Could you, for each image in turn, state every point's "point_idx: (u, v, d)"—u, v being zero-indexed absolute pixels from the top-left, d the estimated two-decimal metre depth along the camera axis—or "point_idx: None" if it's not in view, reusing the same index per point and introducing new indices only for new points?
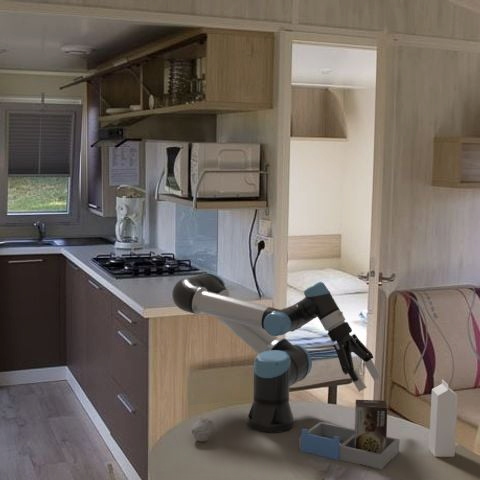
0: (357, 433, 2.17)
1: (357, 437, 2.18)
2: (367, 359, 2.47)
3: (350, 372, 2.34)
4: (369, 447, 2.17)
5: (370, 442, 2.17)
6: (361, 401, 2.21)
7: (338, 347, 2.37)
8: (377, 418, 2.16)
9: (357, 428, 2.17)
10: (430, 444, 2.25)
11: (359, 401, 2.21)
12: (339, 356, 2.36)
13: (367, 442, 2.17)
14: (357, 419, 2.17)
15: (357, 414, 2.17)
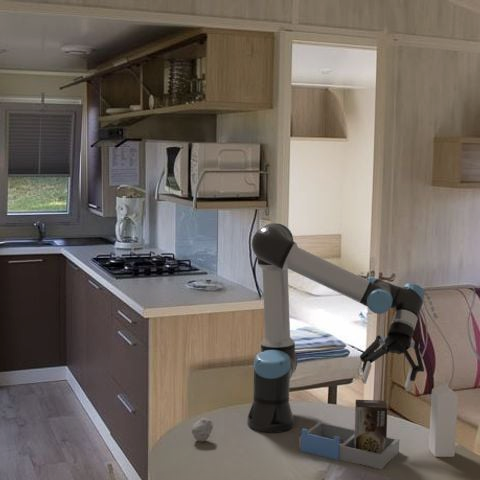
0: (357, 433, 2.17)
1: (357, 437, 2.18)
2: None
3: (417, 371, 2.27)
4: (369, 447, 2.17)
5: (370, 442, 2.17)
6: (361, 401, 2.21)
7: (419, 347, 2.32)
8: (377, 418, 2.16)
9: (357, 428, 2.17)
10: (430, 444, 2.25)
11: (359, 401, 2.21)
12: (419, 353, 2.30)
13: (367, 442, 2.17)
14: (357, 419, 2.17)
15: (357, 414, 2.17)
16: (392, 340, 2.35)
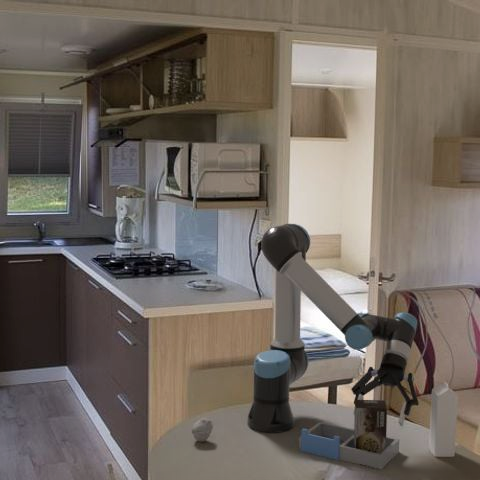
0: (357, 434, 2.17)
1: (357, 438, 2.17)
2: None
3: (411, 405, 2.19)
4: (369, 447, 2.17)
5: (369, 442, 2.17)
6: (360, 401, 2.20)
7: (412, 379, 2.25)
8: (376, 418, 2.16)
9: (357, 429, 2.17)
10: (430, 444, 2.25)
11: (359, 401, 2.20)
12: (413, 386, 2.22)
13: (367, 442, 2.17)
14: (357, 420, 2.16)
15: (357, 415, 2.16)
16: (385, 372, 2.27)
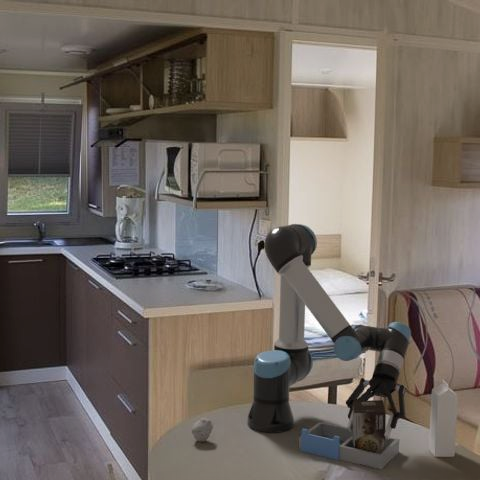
0: (356, 436, 2.15)
1: (356, 440, 2.16)
2: None
3: (397, 418, 2.17)
4: (368, 448, 2.16)
5: (368, 444, 2.16)
6: (358, 403, 2.17)
7: (403, 391, 2.22)
8: (375, 422, 2.13)
9: (356, 432, 2.15)
10: (430, 444, 2.25)
11: (357, 403, 2.17)
12: (403, 398, 2.20)
13: (366, 444, 2.16)
14: (355, 424, 2.14)
15: (355, 419, 2.14)
16: (377, 382, 2.25)
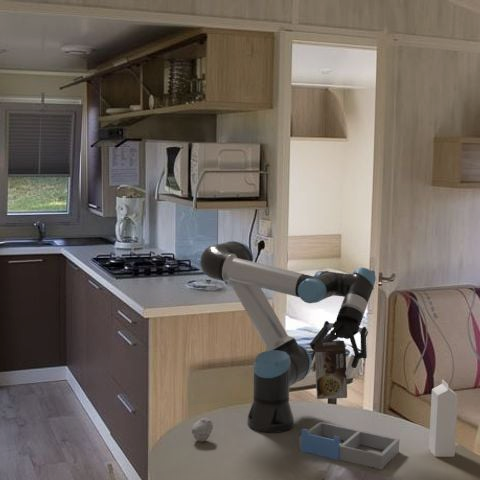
0: (318, 376, 2.20)
1: (318, 379, 2.20)
2: None
3: (359, 358, 2.22)
4: (330, 387, 2.21)
5: (330, 383, 2.21)
6: (320, 344, 2.21)
7: (366, 333, 2.27)
8: (336, 360, 2.18)
9: (317, 371, 2.19)
10: (430, 444, 2.25)
11: (318, 344, 2.21)
12: (364, 339, 2.24)
13: (328, 383, 2.21)
14: (317, 363, 2.19)
15: (316, 358, 2.18)
16: (340, 325, 2.29)
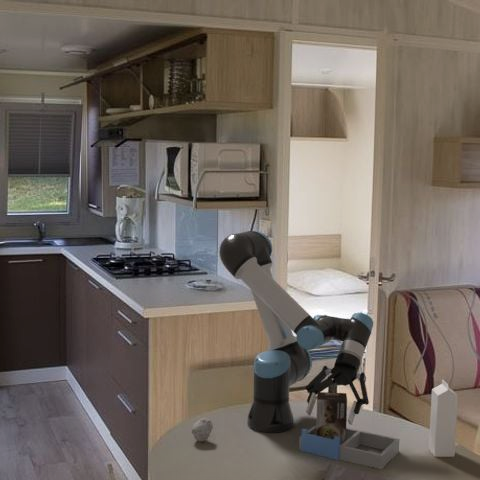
0: (318, 425, 2.23)
1: (318, 428, 2.24)
2: (314, 393, 2.32)
3: (361, 404, 2.23)
4: (329, 438, 2.23)
5: (330, 433, 2.23)
6: (322, 393, 2.26)
7: (364, 379, 2.29)
8: (337, 410, 2.22)
9: (318, 420, 2.23)
10: (430, 444, 2.25)
11: (321, 393, 2.27)
12: (364, 385, 2.26)
13: (328, 433, 2.23)
14: (318, 411, 2.23)
15: (318, 406, 2.23)
16: (338, 371, 2.31)
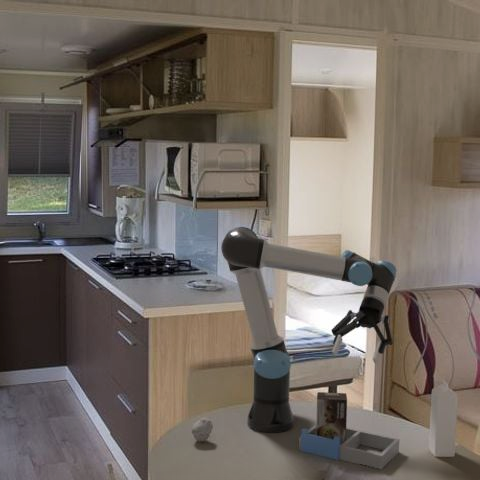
0: (318, 425, 2.23)
1: (318, 428, 2.24)
2: None
3: (385, 344, 2.33)
4: (329, 438, 2.23)
5: (330, 433, 2.23)
6: (322, 394, 2.27)
7: (388, 321, 2.38)
8: (337, 410, 2.22)
9: (318, 420, 2.23)
10: (430, 444, 2.25)
11: (321, 393, 2.27)
12: (388, 327, 2.36)
13: (328, 433, 2.23)
14: (318, 411, 2.23)
15: (318, 406, 2.23)
16: (363, 314, 2.41)
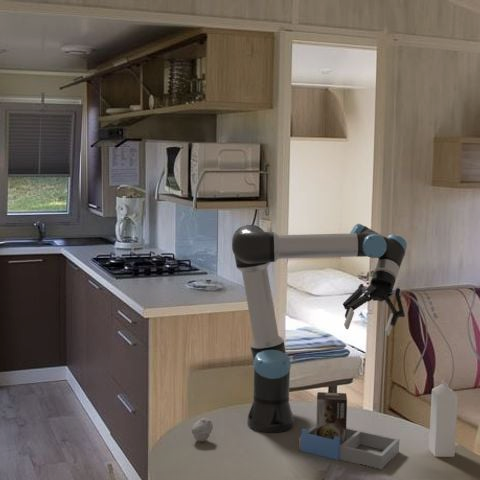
0: (318, 425, 2.23)
1: (318, 428, 2.24)
2: (351, 309, 2.42)
3: (397, 316, 2.34)
4: (329, 438, 2.23)
5: (330, 433, 2.23)
6: (322, 394, 2.27)
7: (400, 294, 2.39)
8: (337, 410, 2.22)
9: (318, 420, 2.23)
10: (430, 444, 2.25)
11: (321, 393, 2.27)
12: (400, 299, 2.37)
13: (328, 433, 2.23)
14: (318, 411, 2.23)
15: (318, 406, 2.23)
16: (374, 288, 2.42)
